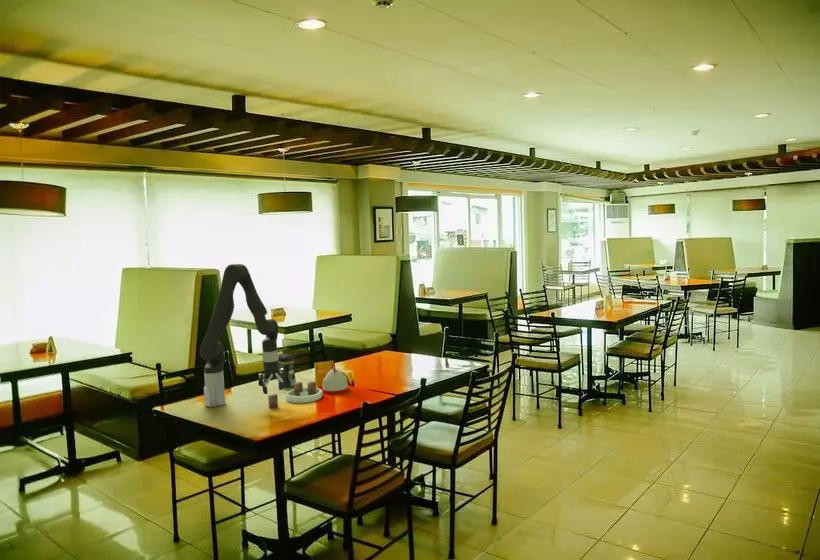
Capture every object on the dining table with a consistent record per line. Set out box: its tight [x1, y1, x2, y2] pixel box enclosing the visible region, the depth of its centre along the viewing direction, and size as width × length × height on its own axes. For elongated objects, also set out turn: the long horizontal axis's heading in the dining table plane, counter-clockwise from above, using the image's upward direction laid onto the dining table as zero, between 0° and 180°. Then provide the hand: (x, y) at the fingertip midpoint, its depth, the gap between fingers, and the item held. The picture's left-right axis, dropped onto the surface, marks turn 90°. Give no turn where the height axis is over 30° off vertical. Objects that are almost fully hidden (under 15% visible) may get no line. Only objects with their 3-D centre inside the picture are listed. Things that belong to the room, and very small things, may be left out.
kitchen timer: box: [321, 362, 349, 395], centre depth 308 cm, size 14×14×15 cm
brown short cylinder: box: [267, 393, 279, 409], centre depth 282 cm, size 4×4×6 cm
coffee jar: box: [278, 353, 297, 389], centre depth 321 cm, size 10×8×19 cm
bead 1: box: [293, 381, 304, 396], centre depth 299 cm, size 4×4×6 cm
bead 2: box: [307, 381, 317, 395], centre depth 299 cm, size 4×4×6 cm
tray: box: [285, 386, 323, 404], centre depth 296 cm, size 18×18×3 cm
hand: (273, 391), depth 282 cm, fingers open, 8 cm apart
